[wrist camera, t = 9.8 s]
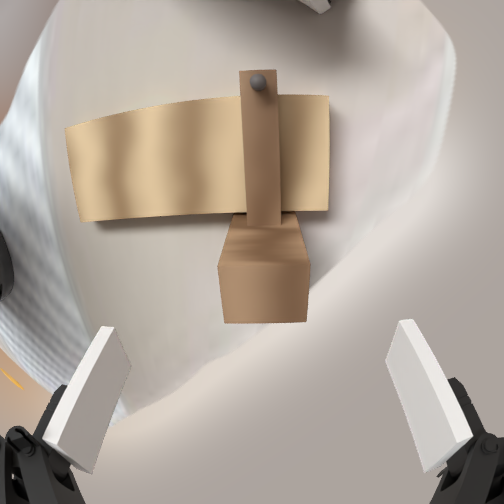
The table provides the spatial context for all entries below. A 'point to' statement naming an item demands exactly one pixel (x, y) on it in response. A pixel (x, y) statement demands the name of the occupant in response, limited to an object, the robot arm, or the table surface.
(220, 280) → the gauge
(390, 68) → the table surface
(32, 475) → the robot arm
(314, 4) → the grey curved slab
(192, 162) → the board
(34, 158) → the table surface
